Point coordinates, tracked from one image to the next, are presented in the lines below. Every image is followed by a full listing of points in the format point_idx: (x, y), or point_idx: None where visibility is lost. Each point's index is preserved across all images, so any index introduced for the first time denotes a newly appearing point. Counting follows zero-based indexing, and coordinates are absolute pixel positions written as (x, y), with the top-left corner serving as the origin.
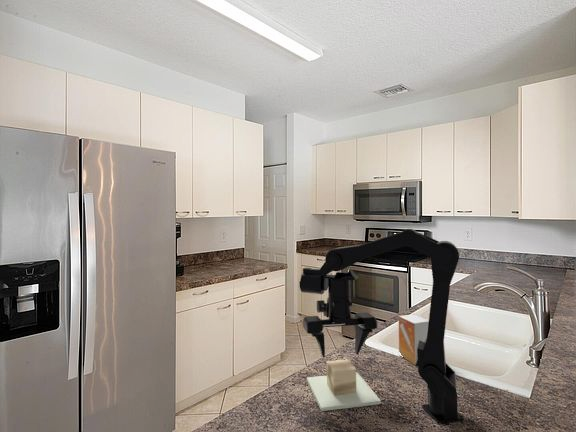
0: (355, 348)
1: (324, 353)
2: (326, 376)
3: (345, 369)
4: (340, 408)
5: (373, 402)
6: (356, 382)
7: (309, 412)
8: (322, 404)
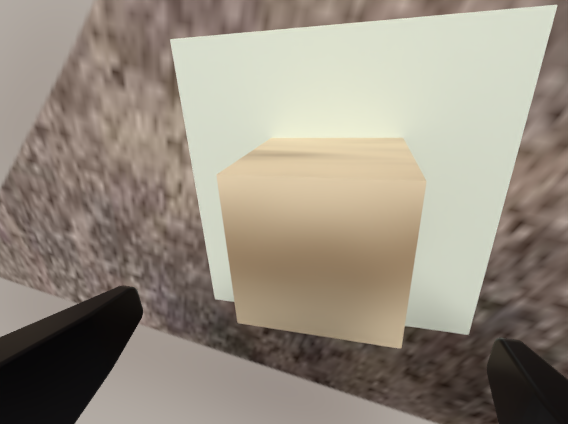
0: (520, 397)
1: (113, 361)
2: (288, 45)
3: (323, 326)
4: None
5: (429, 327)
6: (449, 161)
7: (183, 284)
8: (221, 284)
